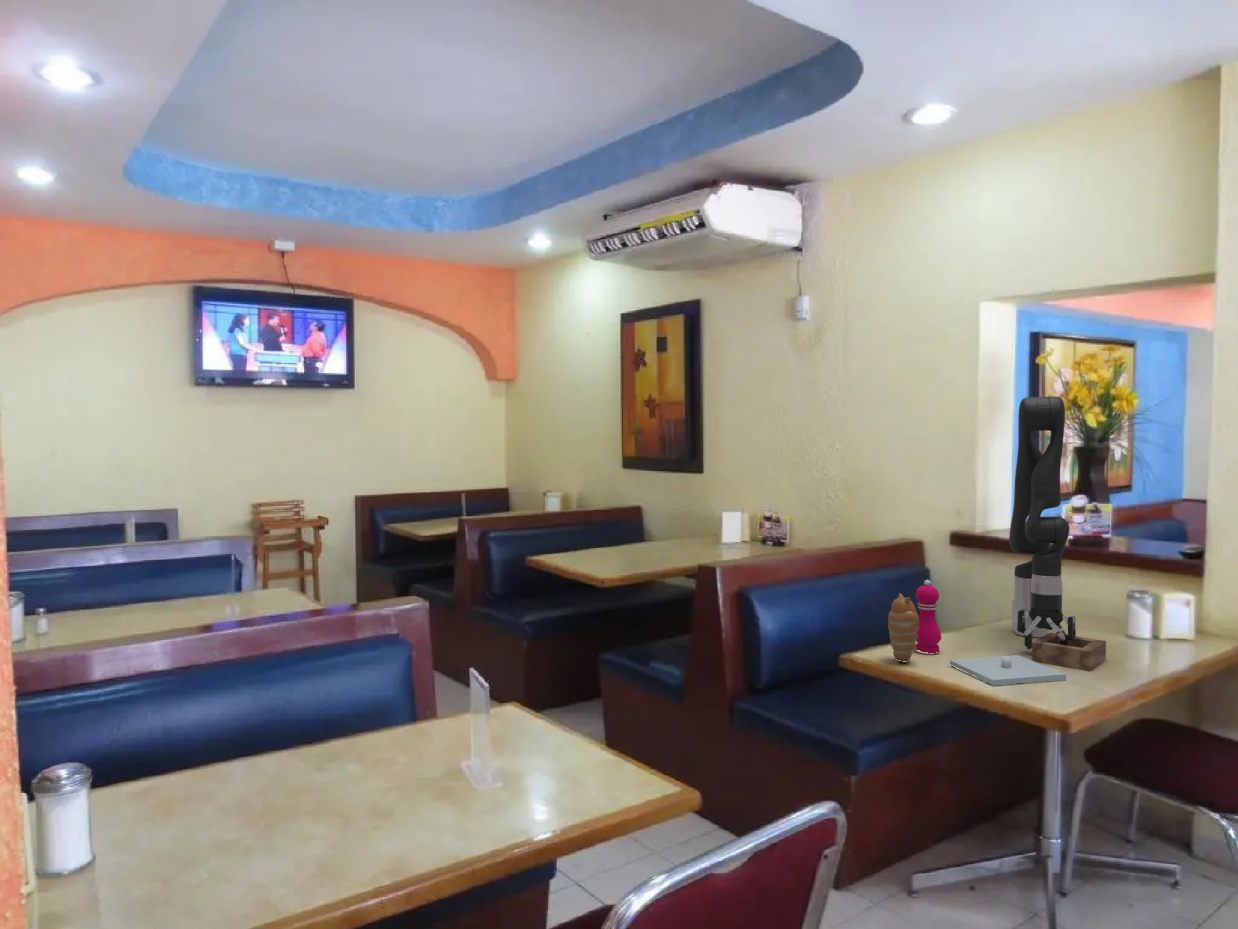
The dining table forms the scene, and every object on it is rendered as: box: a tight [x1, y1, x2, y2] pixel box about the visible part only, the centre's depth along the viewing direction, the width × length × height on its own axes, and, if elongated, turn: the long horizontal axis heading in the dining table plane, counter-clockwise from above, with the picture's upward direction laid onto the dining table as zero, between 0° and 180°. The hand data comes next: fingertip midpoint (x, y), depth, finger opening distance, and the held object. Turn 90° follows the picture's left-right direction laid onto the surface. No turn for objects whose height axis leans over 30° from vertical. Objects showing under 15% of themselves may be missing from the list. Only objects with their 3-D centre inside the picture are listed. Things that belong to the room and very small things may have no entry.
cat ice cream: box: [887, 592, 919, 662], centre depth 229 cm, size 9×8×18 cm
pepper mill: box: [914, 579, 942, 653], centre depth 239 cm, size 7×7×20 cm
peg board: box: [949, 654, 1067, 687], centre depth 219 cm, size 18×20×4 cm
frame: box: [1031, 632, 1107, 672], centre depth 229 cm, size 14×14×5 cm
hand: (1045, 651), depth 233 cm, fingers open, 8 cm apart
